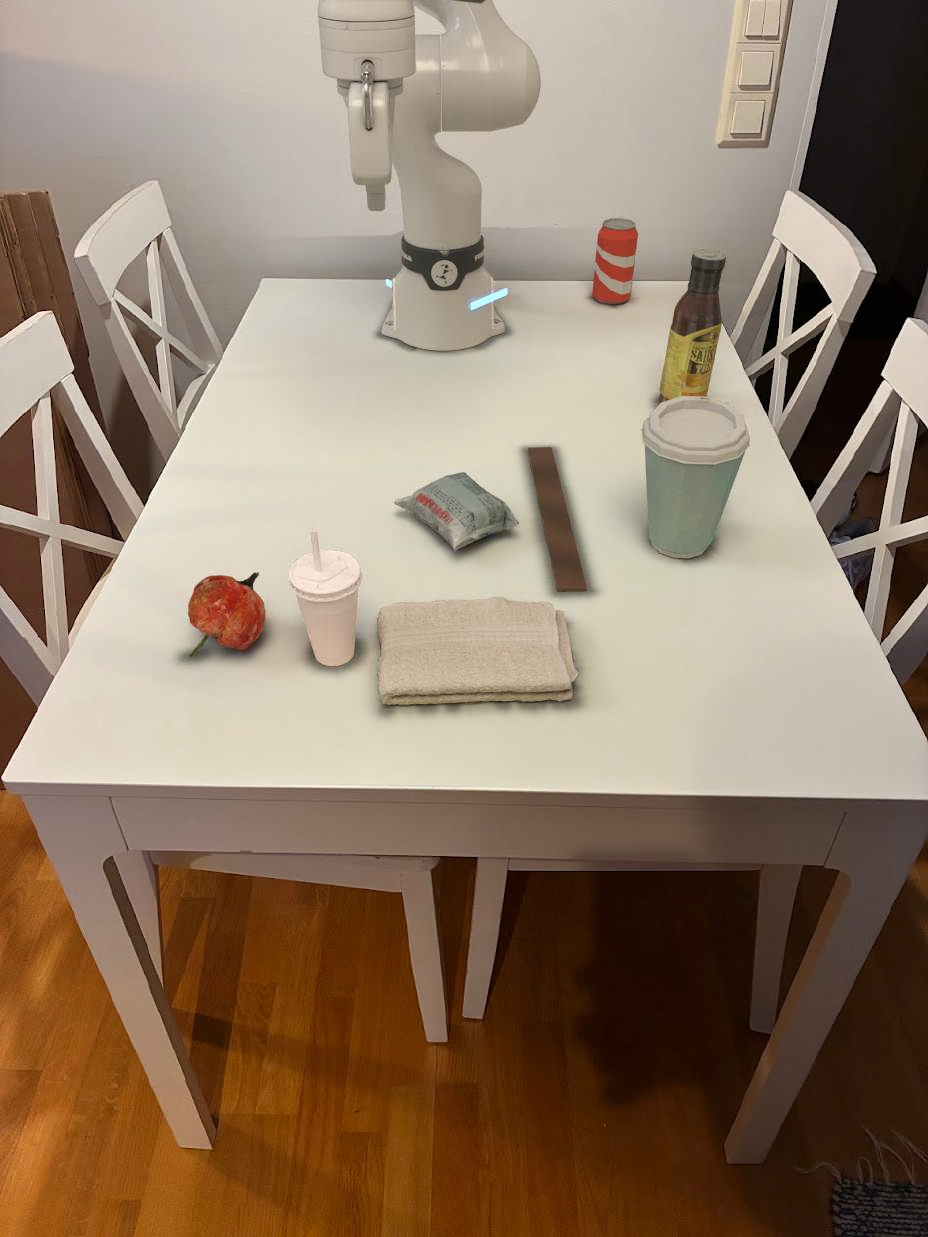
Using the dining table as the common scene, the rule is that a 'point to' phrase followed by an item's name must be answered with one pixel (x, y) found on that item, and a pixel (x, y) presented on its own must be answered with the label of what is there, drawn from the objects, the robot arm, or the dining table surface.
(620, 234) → the beverage can
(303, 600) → the smoothie
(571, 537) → the ruler
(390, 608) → the washcloth
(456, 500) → the packaged food
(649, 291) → the dining table surface
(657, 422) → the disposable coffee cup
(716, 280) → the sauce bottle
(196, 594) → the pomegranate
